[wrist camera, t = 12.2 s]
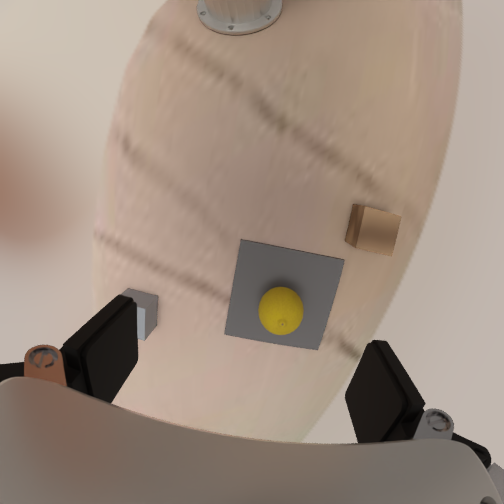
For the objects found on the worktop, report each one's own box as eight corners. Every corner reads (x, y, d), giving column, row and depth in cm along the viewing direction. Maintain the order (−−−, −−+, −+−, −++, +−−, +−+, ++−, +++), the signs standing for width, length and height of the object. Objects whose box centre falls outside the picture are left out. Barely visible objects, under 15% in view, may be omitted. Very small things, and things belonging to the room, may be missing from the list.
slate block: (128, 288, 40) (113, 299, 35) (158, 295, 39) (145, 308, 35) (128, 317, 41) (113, 331, 36) (156, 325, 40) (144, 340, 36)
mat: (241, 239, 37) (241, 239, 37) (343, 259, 37) (344, 260, 36) (224, 333, 40) (224, 334, 40) (317, 349, 40) (317, 350, 39)
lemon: (304, 310, 38) (311, 339, 30) (265, 320, 39) (264, 350, 31) (294, 274, 37) (301, 295, 29) (254, 285, 38) (250, 308, 30)
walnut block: (353, 204, 35) (365, 206, 30) (385, 213, 35) (401, 216, 30) (344, 240, 36) (355, 248, 31) (377, 248, 36) (391, 256, 31)
